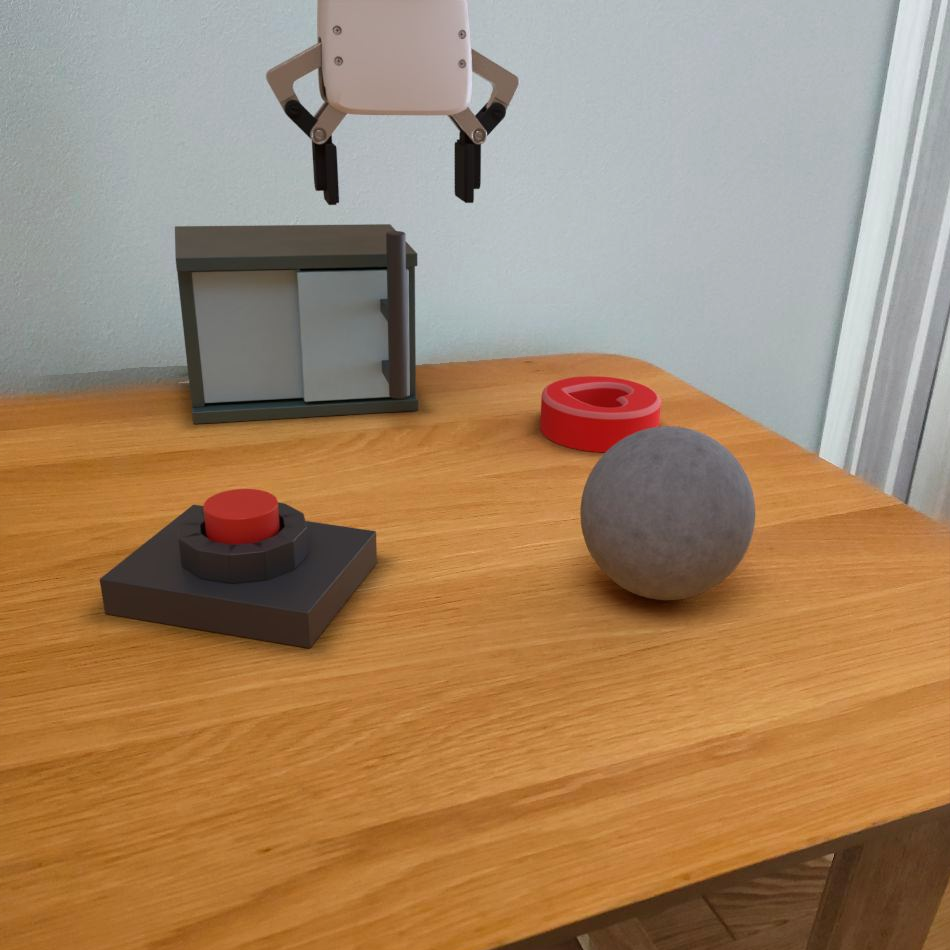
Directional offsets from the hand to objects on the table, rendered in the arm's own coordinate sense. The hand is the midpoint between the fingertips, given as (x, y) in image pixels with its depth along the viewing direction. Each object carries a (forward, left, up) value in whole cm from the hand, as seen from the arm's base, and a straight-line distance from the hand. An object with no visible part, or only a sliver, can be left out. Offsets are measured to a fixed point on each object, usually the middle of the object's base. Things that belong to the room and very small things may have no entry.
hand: (398, 200), depth 76 cm
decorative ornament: (+15, +6, -18) cm, 24 cm away
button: (0, -26, -14) cm, 30 cm away
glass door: (-4, +1, -16) cm, 17 cm away
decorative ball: (+23, -19, -18) cm, 35 cm away
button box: (0, -26, -18) cm, 32 cm away
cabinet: (-11, +6, -18) cm, 22 cm away
